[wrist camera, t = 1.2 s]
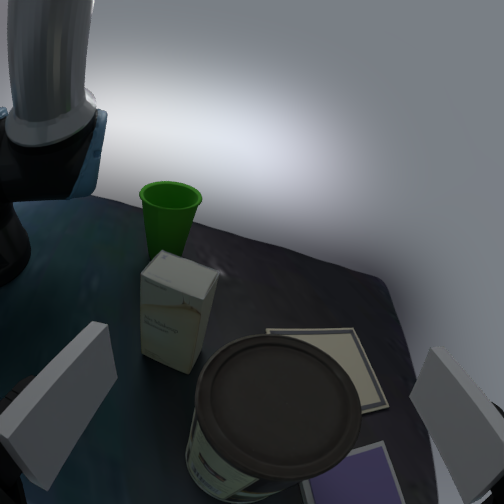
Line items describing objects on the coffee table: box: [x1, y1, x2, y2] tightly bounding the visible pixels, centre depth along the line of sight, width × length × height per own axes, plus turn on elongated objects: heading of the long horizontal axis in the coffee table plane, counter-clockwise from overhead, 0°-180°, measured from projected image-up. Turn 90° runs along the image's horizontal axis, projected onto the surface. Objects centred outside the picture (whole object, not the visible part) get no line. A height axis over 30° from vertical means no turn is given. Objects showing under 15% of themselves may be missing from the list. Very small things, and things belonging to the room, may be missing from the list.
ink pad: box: [299, 441, 405, 504], centre depth 20 cm, size 11×11×1 cm
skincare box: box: [140, 250, 220, 374], centre depth 28 cm, size 6×4×12 cm
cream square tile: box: [266, 328, 389, 414], centre depth 34 cm, size 14×14×1 cm
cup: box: [139, 181, 202, 260], centre depth 43 cm, size 9×9×11 cm
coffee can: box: [185, 334, 362, 504], centre depth 19 cm, size 10×10×14 cm
